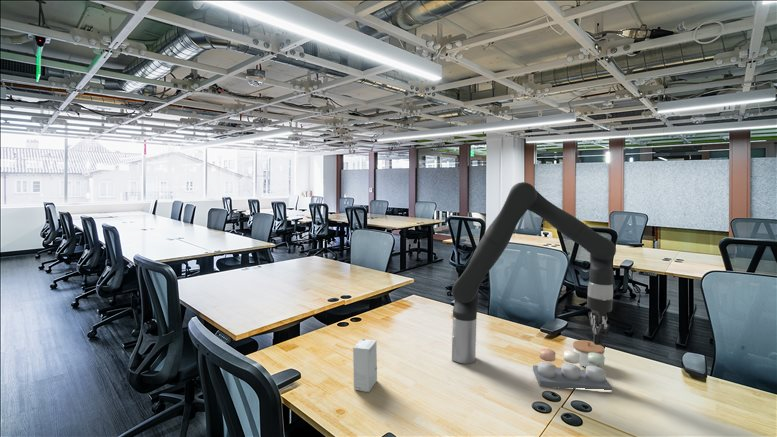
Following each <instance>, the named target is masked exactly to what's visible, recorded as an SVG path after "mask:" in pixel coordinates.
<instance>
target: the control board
mask: <svg viewBox="0 0 777 437" xmlns="http://www.w3.org/2000/svg"><path fill="white" fill-rule="evenodd" d="M532 365H533V364H532ZM532 371H533V373H534V376H535V378H536V380H537V383H538V386H539V387H542V386H543V388H544V387H545V388H552V387H556V388H555V389H563V388H573V389H575V388H585V389H604V390H612V391H613V386H612V385H611V384H610V382H609V381H608V380H607V379H606V370H605V369H603V368H601V366H598V367H596V366H587V367H586V368H585V369H581V368H580V367H579V366H578V365H577V364H573V363H562V364H561V367H558V366H556V365H555V364H554V363H552V362H549V361H539V362H537V365H533V366H532ZM558 387H559V388H558ZM573 389H572V390H573Z"/></svg>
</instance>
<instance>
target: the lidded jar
mask: <svg viewBox="0 0 777 437" xmlns="http://www.w3.org/2000/svg"><path fill="white" fill-rule="evenodd" d="M572 351H574V352H577V353H579V354H580V360H579V363H578V365H579V364H580V365H581V366H580V365H579V366H580V367H582V366H584V367H587V366H596V367H599V366H597V365H593V364H591V363H589V362H588V353H591V352H594V353H599V354H601V355H603V356H604V357H605V347H604V346H602V344H601V345H595V344H594V343H593V341H592V340H591V341H590V340H584V339H581V340H580V339H579V340H574V341H573V343H572ZM584 367H583V368H584Z"/></svg>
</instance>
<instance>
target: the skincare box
mask: <svg viewBox="0 0 777 437" xmlns="http://www.w3.org/2000/svg"><path fill="white" fill-rule="evenodd" d="M377 347H378V346H377V340H375V339H373V340H372V339H367V338H366V339H363V338H362V339H361V340H360V341H358V342H357V343H356V345H355V346H354V347H352V351H353V354H352V355H353V361H352V363H353V389H354V390H356V391H361V392H365V393H370V391H371V389H372V388H373V386H374V385H375V384H376V383H377V382H378V361H377V360H378V357H377V353H378V352H377V349H378V348H377Z"/></svg>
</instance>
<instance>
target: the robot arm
mask: <svg viewBox="0 0 777 437" xmlns="http://www.w3.org/2000/svg"><path fill="white" fill-rule="evenodd" d="M527 211H530V212H532V213H533V214H535V215H536V216H538V217H540V218H542V219H543V220H544V221H546V222H547V223H548V224H550V225H551V226H552V227H553V228H554V229H555V230H556V231H558V232H559V233H561V234H562V235H564V236H565V237H567V238H568V239H569V240H571V241H573V242H574V243H576V244H578V245H579V246H581V247H582V248H583V249H584V250H585V251H587V252H588V253H589V261H590V267H589V278H588V280H589V281H588V285H587V298H586V307H587V308H588V309H589V310H591V311H588V313H587V314H588V319H589V324H590V328H591V329H592V333H593V335H592V336H593V337H592V338H593V340H592V342H593V343H594V344H595V345H601V346H602V343H603V342H602V340H603V336H606V334H607V333H608V331H609V330H610V329H611V328H610V327H611V325H610V323H607V321H608V316H607V313H610V312H612V310H613V299H614V298H613V297H614V287H613V285H614V269H613V258H614V257H615V255H616V252H617V247H616V245H615V243H614V242H613V241H612V240H611V239H609V238H608V237H605V236H603V235H601V234H599V233H598V232H596V231H595V230H593V229H592V228H591V227H590V226H588V224H587V223H584V222H583V221H581V220H580V219H578V218H576V217H575V215H572V214H570V212H567V211H565V210H563V209H561V208H560V207H559V206H557V205H555V204H553V203H552V202H550V201H549V200H548V199H546V198H545V197H544V196H543V195H542V194H541V193H540V192H539V191H537V189H536V188H535V186H533V185H532V184H531V183H530V182H525V181H522V182H517V183H516V184H514V185H513V186H512V187H511V189H510V190H509V193H508V194H507V197H506V199H505V201H504V204H503V205H502V207H501V209H500V211H499V213H498V214H497V215H496V217H495V218H494V220H493V221H492V222H491V223H490V225H489V226H488V228H487V229H486V231H485V232H484V234H483V235H482V237H481V239H480V240H479V242H478V244H477V246H476V248H475V250H474V252H473V254H472V256H471V258H470V259H469V260H470V261H469V262H468V265H466V268H465V269H464V270H463V273H462V274H461V275H460V276H459V277H458V278H457V279H456V281H454V283H453V285H452V289H451V290H452V291H451V293H452V296H453V298H454V303H453V308H452V333H451V334H452V338H451V339H452V340H451V361H452V362H456V363H459V364H464V365H467V364H468V365H469V364H472V363H475V361H476V351H477V350H476V349H477V348H476V346H477V344H476V343H477V320H478V319H477V316H478V306H479V305H478V304H479V303H478V302H479V288H480V286H481V284H482V282H483V280H484V279H485V277H486V276H487V274H488V273H489V272H490V270H491V269H492V268H493V267H494V266H495V264H496V263H497V261H498V260H499V259H500V257H501V256H502V254H503V253H504V252H505V250H506V248H507V247H508V244H509V242H510V241H511V239H512V237H513V235H514V232H515V230H516V227H517V225H518V224H519V222H520V221H521V219H522V218H523V216H524V214H526V212H527Z"/></svg>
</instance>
